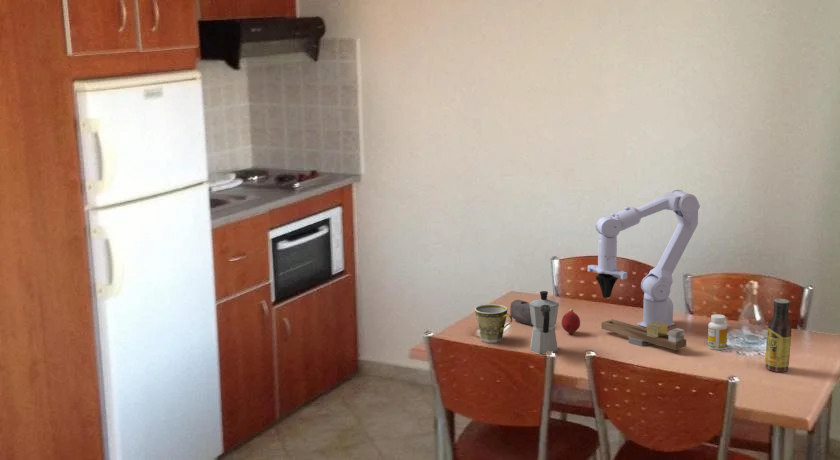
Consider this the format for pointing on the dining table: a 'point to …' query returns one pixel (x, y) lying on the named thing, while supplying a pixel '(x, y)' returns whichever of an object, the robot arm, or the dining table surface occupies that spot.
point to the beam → (646, 335)
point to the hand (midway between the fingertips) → (606, 297)
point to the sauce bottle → (778, 338)
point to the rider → (657, 329)
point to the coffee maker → (543, 324)
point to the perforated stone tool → (521, 311)
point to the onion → (570, 322)
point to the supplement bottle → (717, 332)
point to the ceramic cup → (491, 322)
